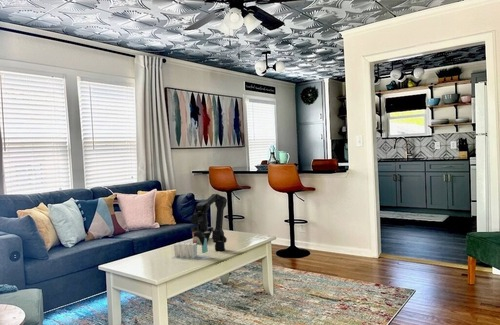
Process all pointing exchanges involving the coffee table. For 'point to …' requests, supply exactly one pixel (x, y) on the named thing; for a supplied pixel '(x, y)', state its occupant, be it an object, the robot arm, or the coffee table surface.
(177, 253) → the domino
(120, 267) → the coffee table surface
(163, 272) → the coffee table surface
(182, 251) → the domino
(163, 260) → the coffee table surface
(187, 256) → the domino
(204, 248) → the domino
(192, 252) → the domino
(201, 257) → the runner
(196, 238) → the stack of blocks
